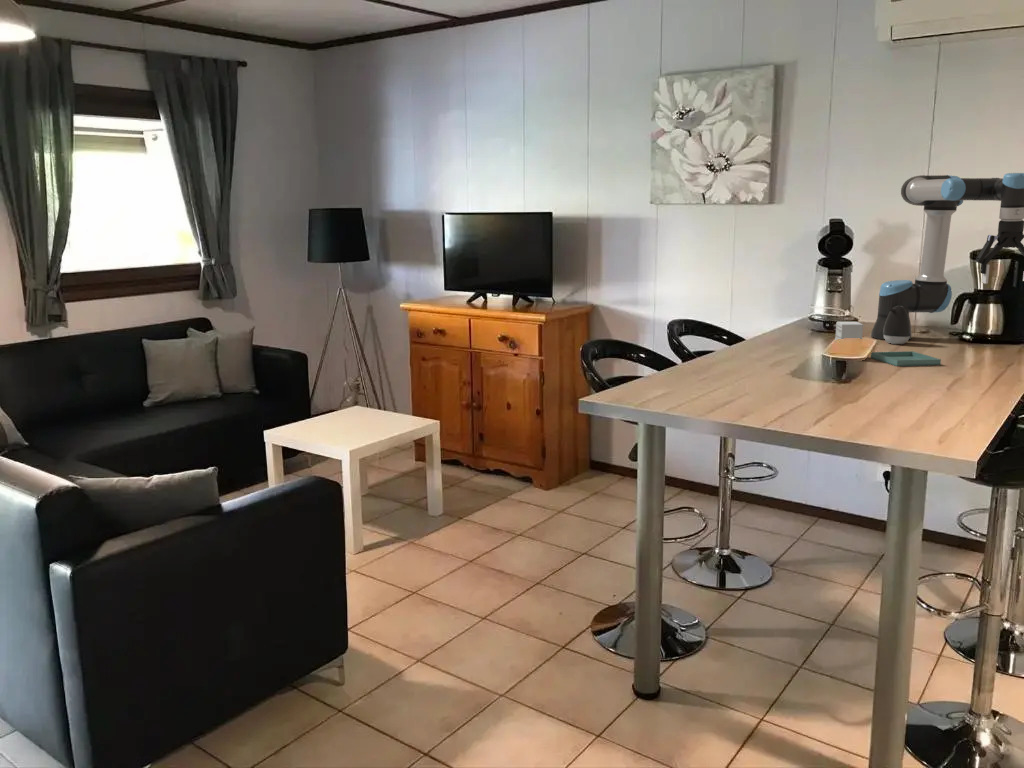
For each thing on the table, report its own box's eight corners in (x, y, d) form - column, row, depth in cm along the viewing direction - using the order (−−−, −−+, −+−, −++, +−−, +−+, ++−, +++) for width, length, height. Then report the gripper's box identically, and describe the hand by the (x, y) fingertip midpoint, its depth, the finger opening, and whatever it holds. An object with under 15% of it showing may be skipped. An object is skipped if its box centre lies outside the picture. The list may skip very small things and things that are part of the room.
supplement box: (854, 355, 302) (857, 321, 300) (860, 359, 295) (863, 324, 292) (833, 355, 303) (836, 320, 300) (839, 359, 296) (842, 323, 293)
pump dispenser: (875, 342, 331) (879, 304, 328) (894, 340, 336) (898, 303, 332) (896, 346, 322) (900, 307, 319) (915, 344, 326) (920, 305, 323)
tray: (870, 357, 298) (871, 352, 298) (912, 356, 300) (912, 351, 300) (896, 366, 283) (897, 360, 282) (940, 365, 285) (941, 359, 284)
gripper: (978, 222, 280) (972, 285, 286) (1056, 218, 278) (1049, 282, 284) (968, 220, 288) (962, 282, 293) (1044, 217, 286) (1037, 278, 291)
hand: (1005, 282), depth 289 cm, fingers open, 13 cm apart
